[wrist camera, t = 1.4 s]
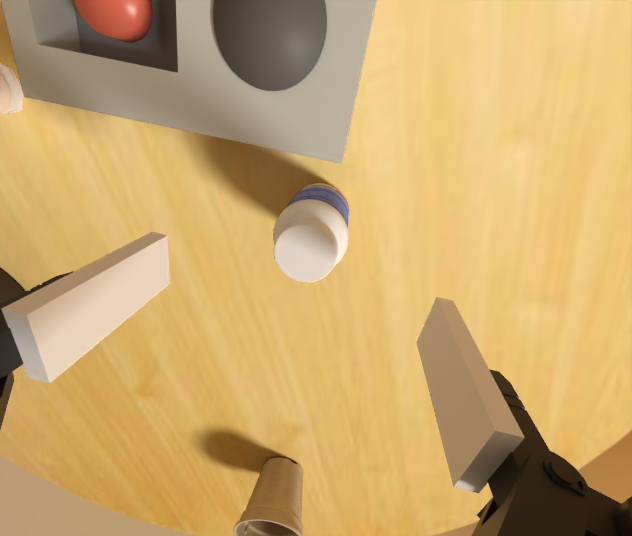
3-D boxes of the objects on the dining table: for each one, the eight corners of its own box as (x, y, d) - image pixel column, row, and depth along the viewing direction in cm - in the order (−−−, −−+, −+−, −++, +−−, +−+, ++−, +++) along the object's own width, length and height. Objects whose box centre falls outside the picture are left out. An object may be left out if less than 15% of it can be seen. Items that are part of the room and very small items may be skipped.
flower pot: (325, 479, 45) (319, 552, 37) (278, 491, 48) (263, 560, 40) (290, 443, 42) (275, 514, 34) (242, 458, 45) (218, 526, 38)
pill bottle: (288, 184, 26) (253, 213, 17) (349, 180, 25) (345, 208, 16) (295, 241, 28) (268, 292, 20) (351, 239, 27) (348, 291, 19)
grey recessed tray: (71, 100, 25) (19, 96, 21) (27, -146, 19) (-57, -215, 15) (343, 157, 24) (340, 163, 21) (393, -79, 18) (403, -134, 14)
